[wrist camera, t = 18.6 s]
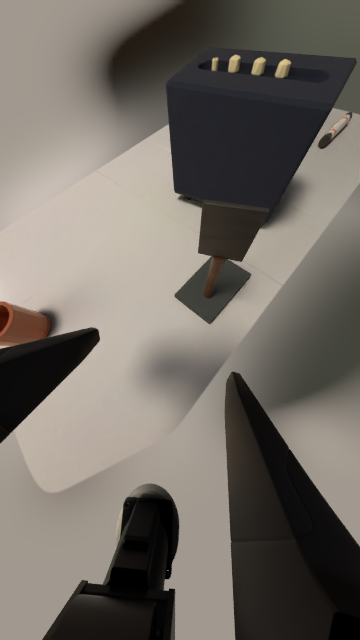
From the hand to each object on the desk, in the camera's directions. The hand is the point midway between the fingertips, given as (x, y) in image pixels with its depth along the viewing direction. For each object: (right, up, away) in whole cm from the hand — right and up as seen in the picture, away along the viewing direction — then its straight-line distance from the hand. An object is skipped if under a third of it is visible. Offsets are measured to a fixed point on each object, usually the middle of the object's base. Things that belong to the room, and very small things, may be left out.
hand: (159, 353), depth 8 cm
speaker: (+13, +31, +23) cm, 41 cm away
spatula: (+6, +7, +15) cm, 17 cm away
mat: (+7, +8, +16) cm, 20 cm away
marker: (+43, +52, +27) cm, 73 cm away
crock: (-26, 0, +16) cm, 30 cm away
